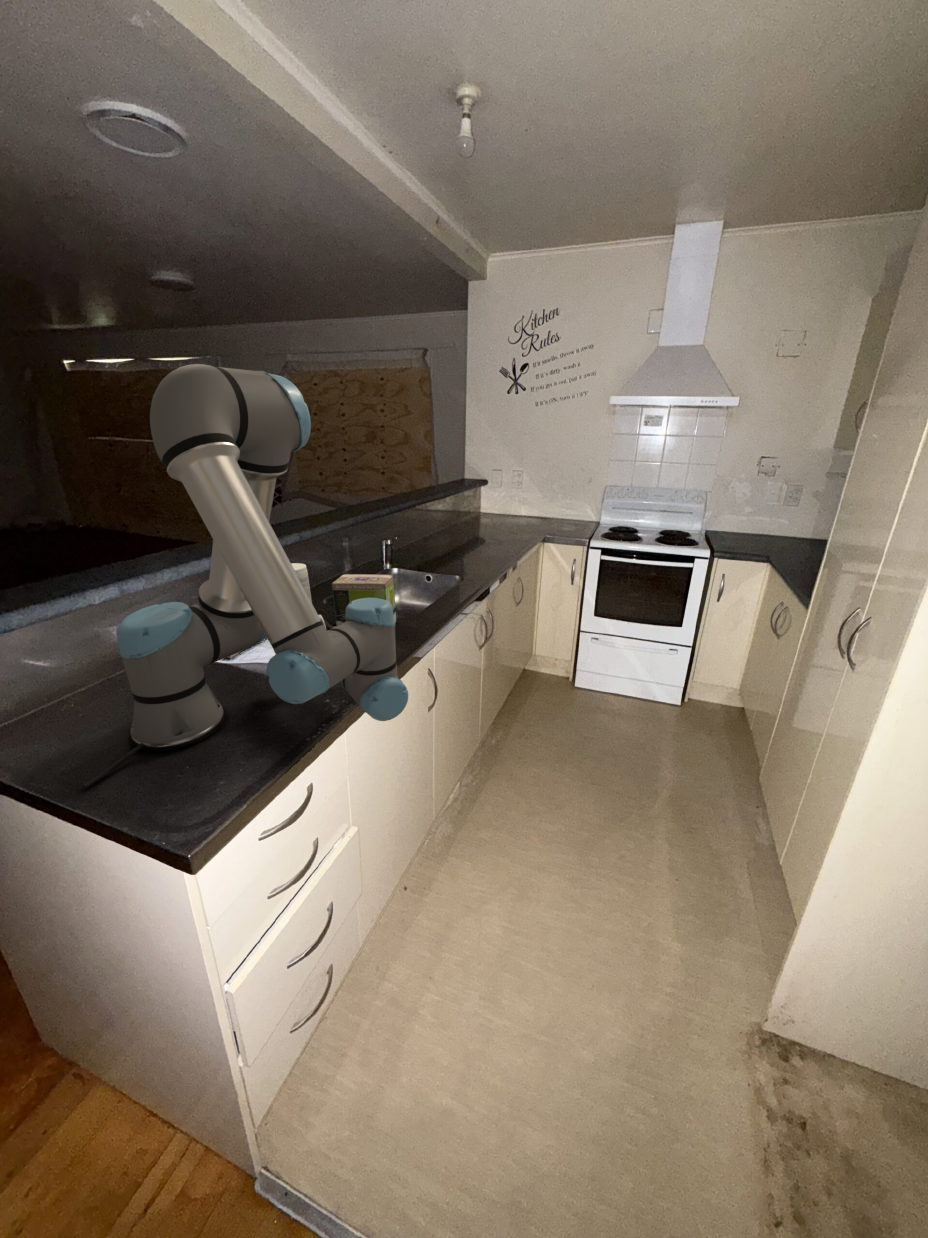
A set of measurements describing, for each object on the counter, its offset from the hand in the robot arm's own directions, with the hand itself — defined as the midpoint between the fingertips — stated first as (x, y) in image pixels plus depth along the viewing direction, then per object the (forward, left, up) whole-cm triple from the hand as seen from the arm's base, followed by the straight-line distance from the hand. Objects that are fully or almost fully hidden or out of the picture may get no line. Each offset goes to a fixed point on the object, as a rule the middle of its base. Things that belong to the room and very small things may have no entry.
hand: (311, 628), depth 107 cm
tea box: (+31, +2, -12) cm, 33 cm away
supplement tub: (+37, +29, -12) cm, 48 cm away
